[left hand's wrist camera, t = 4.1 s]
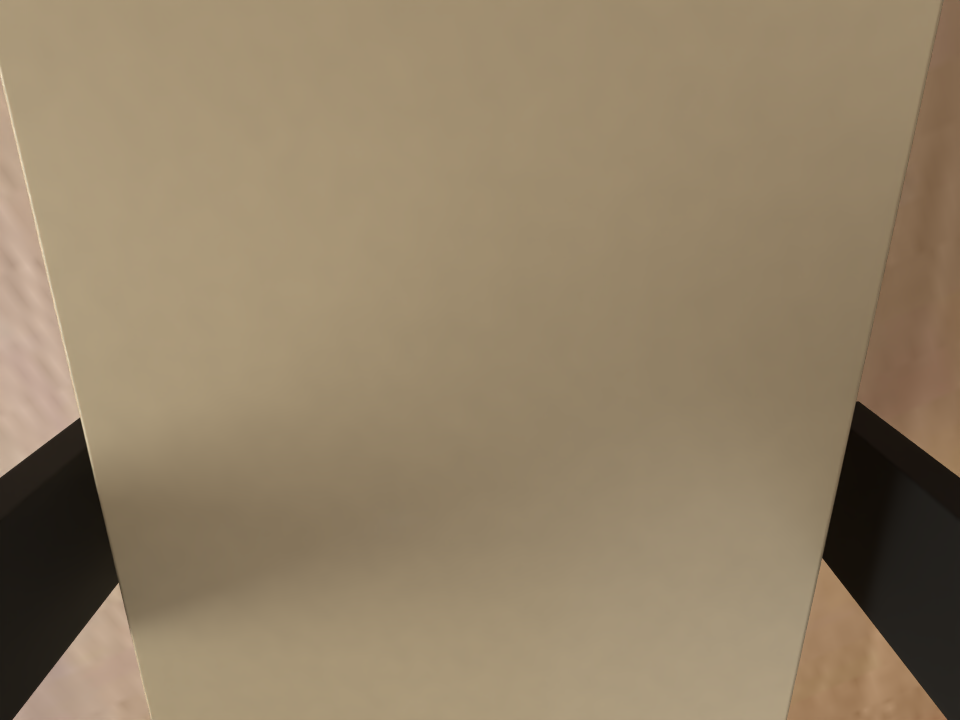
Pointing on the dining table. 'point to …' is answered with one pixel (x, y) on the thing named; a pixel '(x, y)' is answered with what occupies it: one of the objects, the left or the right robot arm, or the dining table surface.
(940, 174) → the dining table surface
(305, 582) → the cabinet
